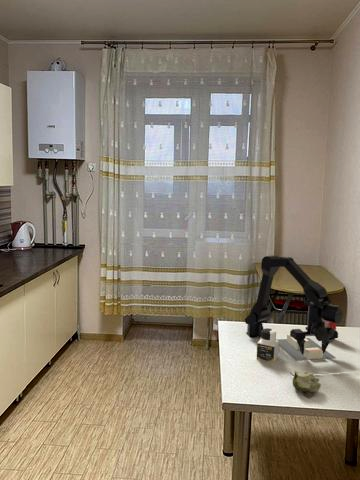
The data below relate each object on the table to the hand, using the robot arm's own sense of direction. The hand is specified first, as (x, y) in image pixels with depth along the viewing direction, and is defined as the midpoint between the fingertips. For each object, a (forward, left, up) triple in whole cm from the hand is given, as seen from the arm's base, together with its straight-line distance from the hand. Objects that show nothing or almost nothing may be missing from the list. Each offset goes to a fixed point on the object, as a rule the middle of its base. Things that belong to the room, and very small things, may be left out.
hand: (312, 353), depth 171 cm
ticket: (0, +13, -1) cm, 13 cm away
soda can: (+17, +18, -2) cm, 25 cm away
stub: (0, 0, -1) cm, 1 cm away
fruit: (-17, -26, -2) cm, 31 cm away
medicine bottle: (-19, +2, -2) cm, 19 cm away
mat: (0, +8, -2) cm, 9 cm away
